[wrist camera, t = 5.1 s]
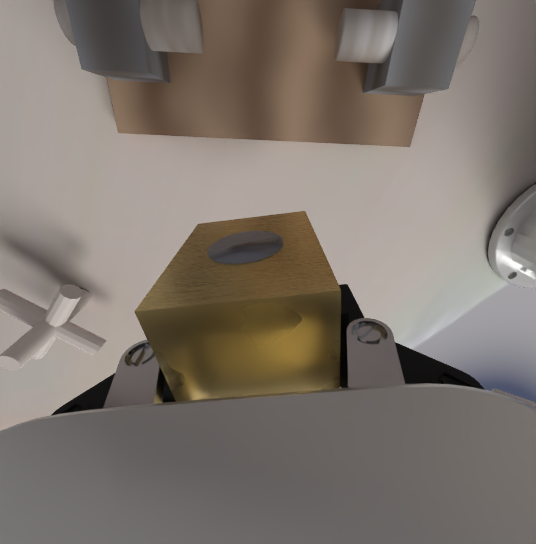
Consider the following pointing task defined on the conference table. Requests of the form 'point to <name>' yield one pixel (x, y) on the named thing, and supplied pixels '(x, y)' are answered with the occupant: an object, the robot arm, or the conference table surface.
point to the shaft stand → (271, 64)
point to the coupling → (246, 311)
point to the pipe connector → (47, 326)
